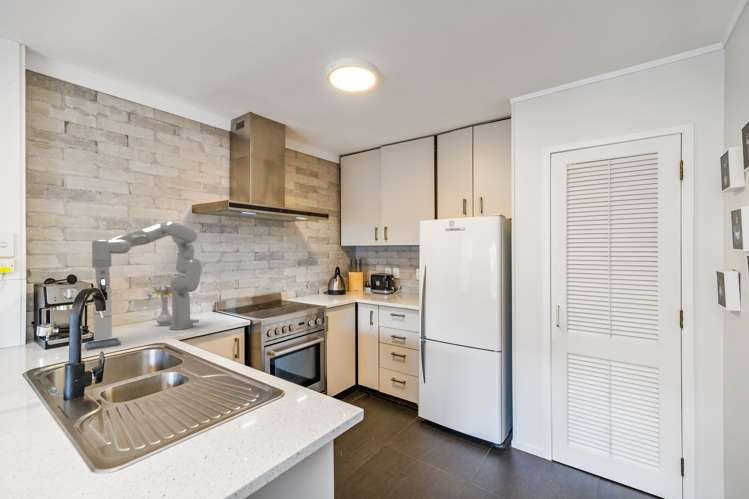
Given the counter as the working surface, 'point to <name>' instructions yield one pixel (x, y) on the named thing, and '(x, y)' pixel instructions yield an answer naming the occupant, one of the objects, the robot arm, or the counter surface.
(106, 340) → the slate tray
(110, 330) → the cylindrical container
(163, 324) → the flower vase
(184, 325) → the robot arm
